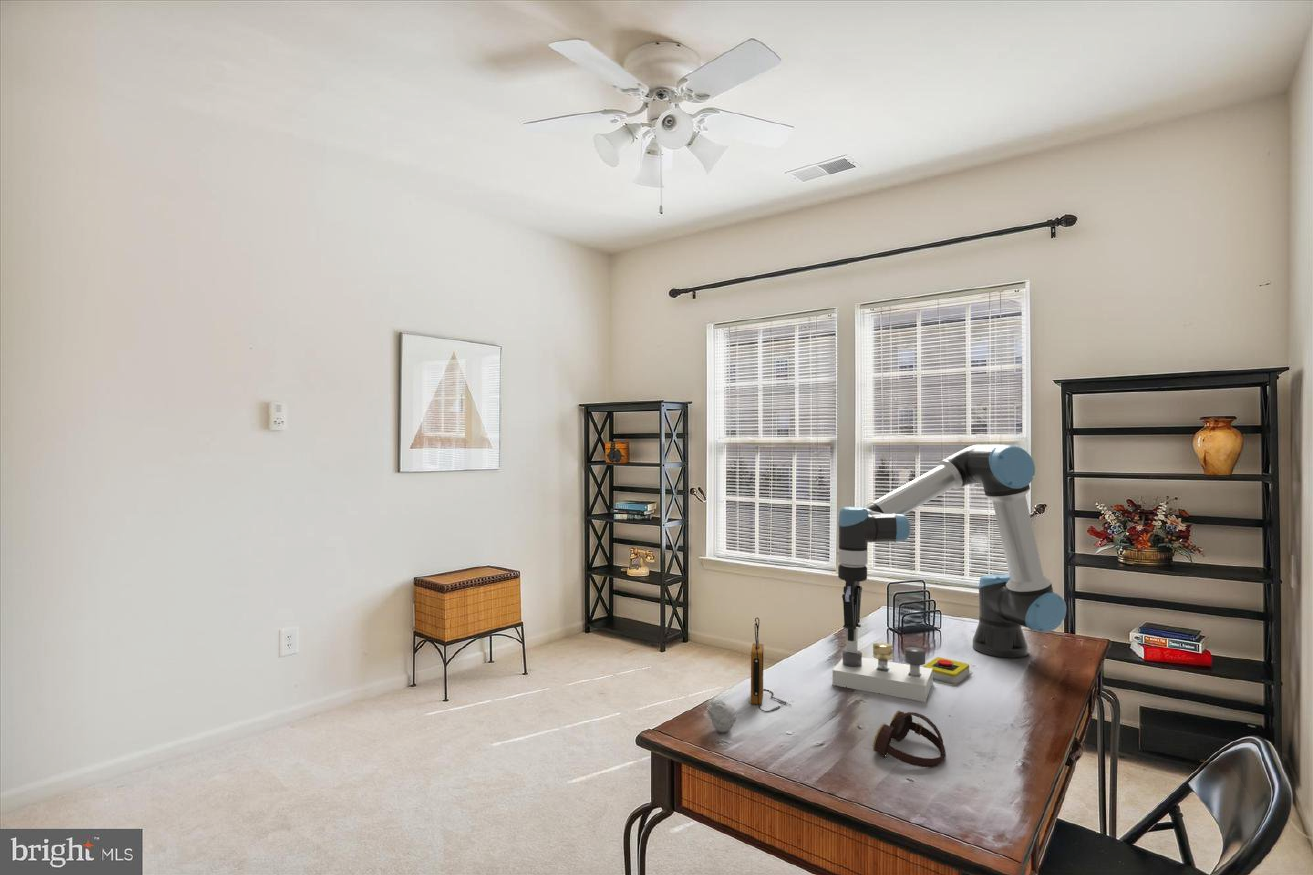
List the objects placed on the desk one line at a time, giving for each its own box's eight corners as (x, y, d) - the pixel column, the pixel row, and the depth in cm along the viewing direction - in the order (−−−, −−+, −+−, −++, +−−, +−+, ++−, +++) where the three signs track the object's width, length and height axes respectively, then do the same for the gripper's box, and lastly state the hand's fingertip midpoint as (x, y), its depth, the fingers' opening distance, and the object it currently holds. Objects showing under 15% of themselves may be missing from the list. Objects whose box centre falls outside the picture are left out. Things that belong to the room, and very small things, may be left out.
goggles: (892, 730, 153) (902, 689, 151) (951, 761, 145) (963, 718, 143) (864, 755, 141) (875, 711, 139) (927, 790, 133) (940, 744, 131)
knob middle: (894, 670, 182) (894, 644, 182) (890, 676, 177) (891, 649, 177) (874, 667, 184) (875, 641, 184) (871, 673, 180) (871, 646, 180)
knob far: (863, 676, 186) (863, 651, 186) (859, 682, 181) (859, 656, 181) (844, 673, 188) (845, 648, 188) (840, 679, 184) (840, 653, 184)
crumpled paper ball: (701, 728, 154) (701, 697, 154) (729, 723, 156) (729, 693, 156) (713, 739, 148) (713, 707, 148) (742, 734, 151) (742, 703, 151)
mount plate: (932, 683, 182) (932, 668, 181) (925, 701, 169) (925, 685, 169) (845, 668, 193) (845, 654, 193) (832, 684, 180) (832, 669, 180)
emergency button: (918, 663, 186) (939, 650, 197) (918, 679, 186) (939, 665, 197) (953, 671, 180) (973, 657, 191) (953, 688, 180) (973, 673, 191)
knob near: (926, 675, 178) (926, 649, 178) (923, 681, 174) (923, 654, 174) (906, 672, 180) (906, 646, 180) (903, 678, 176) (903, 651, 176)
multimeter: (792, 714, 161) (792, 630, 161) (749, 711, 163) (749, 627, 163) (792, 691, 176) (792, 614, 176) (753, 688, 178) (753, 611, 178)
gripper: (844, 559, 192) (843, 643, 192) (832, 567, 181) (831, 656, 181) (871, 562, 188) (871, 647, 189) (861, 570, 177) (860, 661, 177)
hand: (851, 651), depth 185 cm, fingers closed
